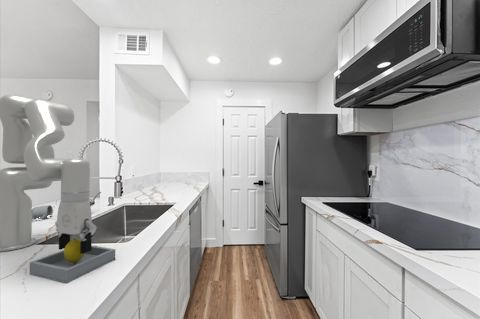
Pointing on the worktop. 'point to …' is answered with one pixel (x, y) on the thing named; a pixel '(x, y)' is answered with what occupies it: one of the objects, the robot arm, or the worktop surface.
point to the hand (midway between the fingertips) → (74, 250)
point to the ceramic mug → (42, 211)
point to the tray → (71, 264)
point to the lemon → (73, 251)
